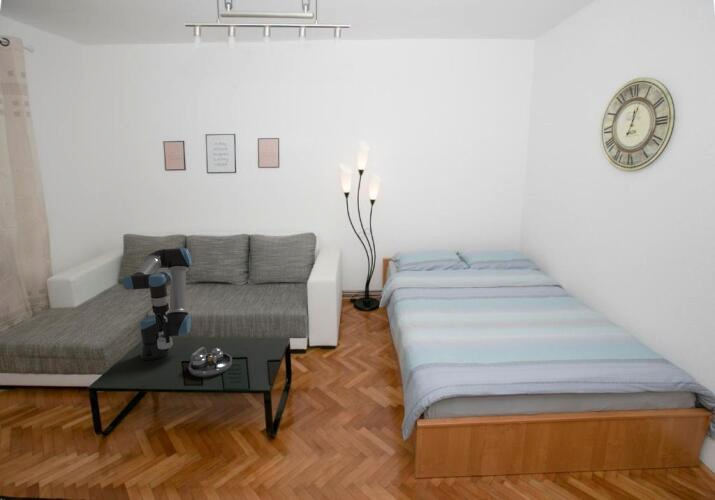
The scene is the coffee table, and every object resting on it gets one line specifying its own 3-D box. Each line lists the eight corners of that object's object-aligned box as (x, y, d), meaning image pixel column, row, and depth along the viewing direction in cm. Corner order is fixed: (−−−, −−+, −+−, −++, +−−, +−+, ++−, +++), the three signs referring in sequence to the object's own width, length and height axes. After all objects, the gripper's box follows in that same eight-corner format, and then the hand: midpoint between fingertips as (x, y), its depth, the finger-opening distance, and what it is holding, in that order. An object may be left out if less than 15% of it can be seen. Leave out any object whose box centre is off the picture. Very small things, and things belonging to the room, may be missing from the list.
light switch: (191, 368, 215) (190, 355, 213) (204, 358, 226) (202, 345, 225) (194, 369, 215) (192, 355, 213) (206, 358, 226) (205, 346, 224)
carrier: (183, 367, 217) (181, 353, 216) (220, 353, 232) (219, 341, 231) (200, 382, 202) (198, 367, 200) (239, 366, 217) (238, 353, 215)
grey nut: (156, 346, 206) (154, 335, 205) (169, 342, 211) (168, 331, 209) (160, 350, 201) (159, 339, 200) (174, 346, 206) (173, 335, 205)
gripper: (145, 301, 205) (151, 342, 210) (159, 311, 191) (164, 354, 196) (160, 297, 210) (166, 337, 215) (175, 306, 197) (180, 349, 202)
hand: (165, 345), depth 206 cm, fingers closed on grey nut, 7 cm apart
